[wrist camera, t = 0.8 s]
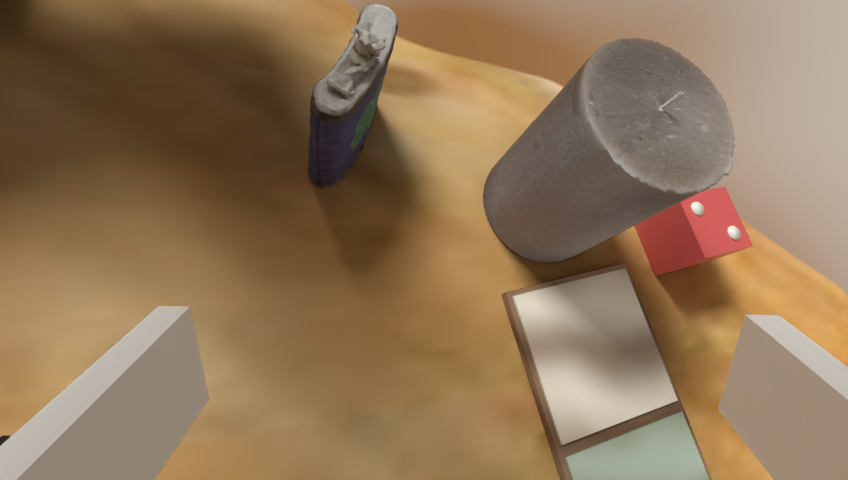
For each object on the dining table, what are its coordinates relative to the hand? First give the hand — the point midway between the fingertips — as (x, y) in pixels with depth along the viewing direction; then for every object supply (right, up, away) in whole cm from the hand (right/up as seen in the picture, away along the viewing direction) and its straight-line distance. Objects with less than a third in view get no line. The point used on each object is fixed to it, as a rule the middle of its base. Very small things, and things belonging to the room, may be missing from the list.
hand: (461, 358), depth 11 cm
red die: (+20, +3, +28) cm, 35 cm away
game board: (+13, -10, +22) cm, 27 cm away
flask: (-7, +10, +23) cm, 27 cm away
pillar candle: (+8, +5, +26) cm, 28 cm away
